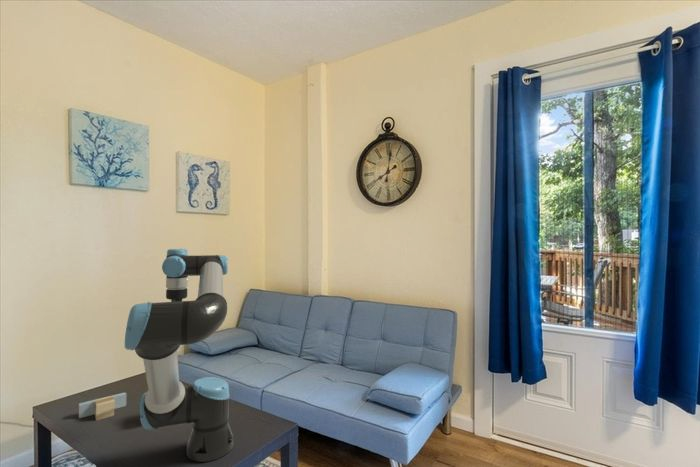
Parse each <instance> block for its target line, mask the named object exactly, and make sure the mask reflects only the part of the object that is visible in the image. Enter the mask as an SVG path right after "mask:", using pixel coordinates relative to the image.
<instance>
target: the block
mask: <svg viewBox="0 0 700 467" xmlns="http://www.w3.org/2000/svg"><path fill="white" fill-rule="evenodd" d="M108 396H109V397H108ZM108 396H105V398H104V397H100V398H101V399H100V398H96V399H97V400H95V399H94V400H95V414H94V417H95V421H99V420H102V419H106V418H110V417H114V416H115V409H114V406H115V401H114V398H113V396H112V395H108Z"/></svg>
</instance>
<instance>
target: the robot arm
mask: <svg viewBox="0 0 700 467" xmlns="http://www.w3.org/2000/svg"><path fill="white" fill-rule="evenodd" d="M228 260H229V259H228V256H227V255H219V254H215V255H213V254H212V255H208V254H207V255H205V254H203V255H189V252H188V250H187V249H185V248H170V249H167V251H166V258H165V259H164V261H163V262H162V265H161V269H162V272H163V274H164V275H165V284H166V285H165V288H166V290H165V299H167V300H170V301H163V302H162V301H161V302H152V301H151V302H150V301H148V302H144V303H143V302H142V303H136V304H134V305H133V306H132V307H131V308H130V311H129V314H128V317H127V323H126V326H125V327H126V329H125V335H124V349H125V350H129V351H135V353H136V355H137V357H139V358H141V359H143V366H144V372H145V378H146V383H147V388H148V389H147V391H146V392H144V393H143V394H142V396H141V399H140V403H139V416H140V417H139V418H140V419H139V420H140V423H141V426H142V428H144V429H145V430H158V429H164V428H169V427H174V426H175V427H176V426H180V425H186V424H187V425H188V424H191V423H192V430H191V433H190V435H189V438H188V441H187V444H186V456H187V458H188V459H190V460H191V461H194V462H199V463H200V462H201V463H202V462H203V463H205V462H211V461H215V460H218V459H220V458H222V457H224V456H226V455H227V454H228V453H230V452H231V450H232V449H233V447H234V435H233V432H232V429H231V425H230V422H229V421H230V420H229V413H230V412H229V411H230V410H229V408H230V406H229V402H230V401H229V400H230V396H231V394H230V388H229V386H230V385H229V383H228V382H227V381H226V380H225V379H223V378H220V377H215V376H214V377H213V376H206V377H201V378H198V379H196V380H195V381H194V382H193V383H192V385H185V386H184V384H183V382H182V381H180V374H179V359H178V350H179V349H181V346H185V345H194V344H198V343H200V342H203V341H206V339H208V338H210V337H211V336H213V335H214V334H215V333H216V332H217V331H218V330H219V329H220V327H221V326H222V325H223V324H224V321H225V320H226V318H227V315H228V302H227V300H226V298H225V297H224V280H223V279H224V278H223V277H224V275H225V276H226V275H227V274H228V270H229V269H228V268H229V267H228V264H229V262H228ZM188 276H189V277H190V276H191V277H195V276H199V281H198V282H199V283H198V290H197V297H196V298H195V300H185V301H184V299H187V298H188V288H187V287H188V282H189V281H190V279H189V277H188Z"/></svg>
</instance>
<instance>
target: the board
mask: <svg viewBox="0 0 700 467" xmlns="http://www.w3.org/2000/svg"><path fill="white" fill-rule="evenodd" d="M109 396H110V395H108V396H107V397H109ZM111 396H113V398H114V401H115V406H114V410H116V409H119V408H123V407H127V393H126V392H121V393H118V394H112V395H111ZM105 397H106V396H105ZM105 397H103V398H105ZM101 398H102V397H99V399H101ZM97 399H98V398H95V399H91V400H87V401H85V402H79V403H78V419H82V418H86V417H91V416H93V415H94V416H95V400H97Z"/></svg>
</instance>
